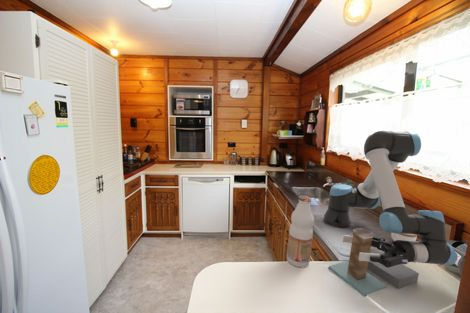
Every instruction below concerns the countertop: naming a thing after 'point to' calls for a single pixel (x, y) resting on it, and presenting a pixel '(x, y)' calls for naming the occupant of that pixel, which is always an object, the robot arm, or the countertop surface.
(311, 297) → the countertop surface
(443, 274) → the countertop surface
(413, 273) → the block
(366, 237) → the walnut plug
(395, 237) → the lidded jar
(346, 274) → the pad
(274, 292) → the countertop surface
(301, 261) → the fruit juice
